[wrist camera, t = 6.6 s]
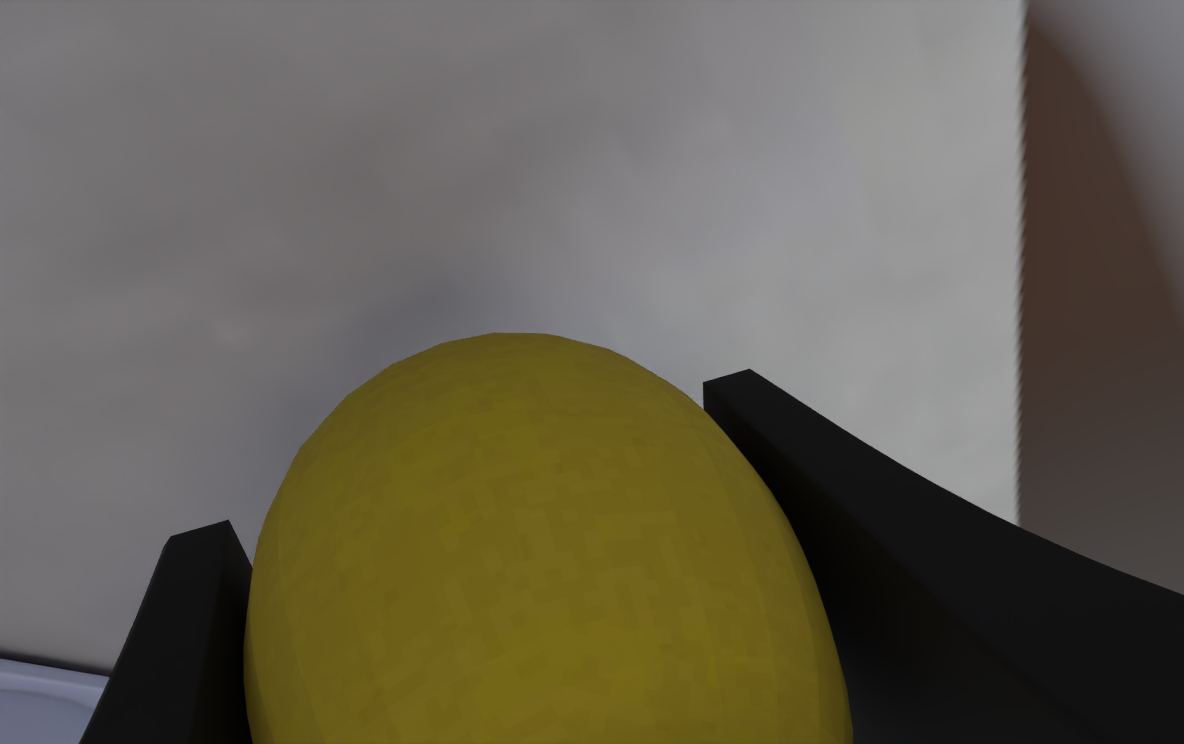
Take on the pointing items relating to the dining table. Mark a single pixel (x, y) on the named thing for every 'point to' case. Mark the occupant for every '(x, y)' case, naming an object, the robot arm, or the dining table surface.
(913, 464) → the dining table surface
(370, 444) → the lemon
